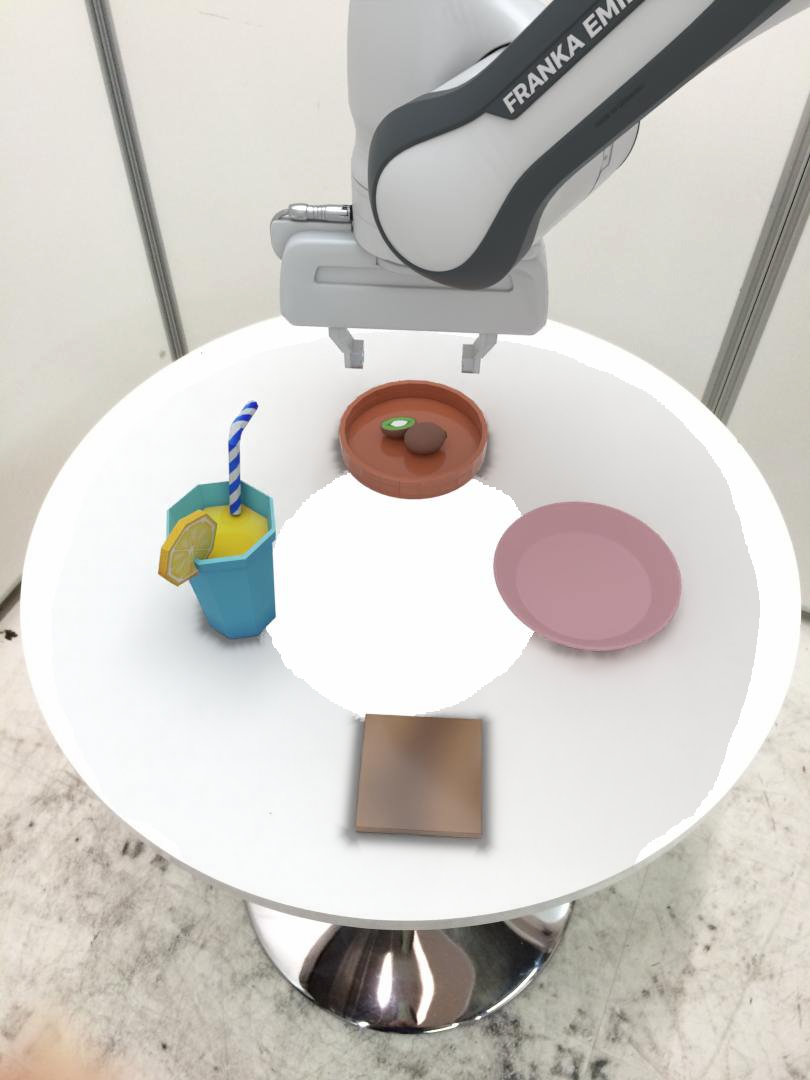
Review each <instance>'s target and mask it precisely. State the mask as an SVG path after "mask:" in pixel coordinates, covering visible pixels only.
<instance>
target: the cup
mask: <svg viewBox="0 0 810 1080" xmlns="http://www.w3.org/2000/svg"><path fill="white" fill-rule="evenodd" d="M258 409H259V404H258V402H257V401H255V400H254V399H251V400H248V401H247V402H246V404H245V405H244V407H243V408H242V409H241V410H240V412H239V413H238V414H237V416H236V417H235V419H234V420H233V421H232V422H231V424H230V427H229V432H228V433H229V434H228V440H227V447H228V449H227V450H228V451H227V452H228V480H226V481H219V482H210V483H199V484H196V485H195V486H194V487H193V488H192V489H190V491H188V492H187V493H186V494H185V495H183V496H182V497H181V498H180V499H179V500H177V501H176V502H175V503H174V504H172V505H171V506H170V507H169V508H168V509H167V510H166V529H165V531H166V532H165V533H166V535H165V537H166V539H165V541H164V542H163V544H162V545H161V547H160V553H159V561H158V568H157V569H158V570H157V575H159V576H160V577H161V578H163V579H164V580H165V581H167V582H168V583H170V584H172V585H173V586H175V587H180V586H181V585H183V584H185V583H186V582H187V581H188V582H189V585H190V587H191V588H192V590H193V593H194V595H195V596H196V599H197V601H198V603H199V605H200V607H201V610H202V612H203V613H204V616H205V618H206V620H207V622H208V624H209V626H210V627H211V628H213V629H214V630H216V631H217V632H219V633H220V634H222V635H223V636H225V637H226V638H228V639H230V640H234V639H243V638H249V637H257V636H259V635H260V634H261V633H262V632H263V631H264V630H265V629H266V628H267V627H268V626H269V625H270V624H271V623H272V622H273V621H274V620H275V619H276V618H277V613H276V593H275V592H276V590H275V570H274V569H275V568H274V550H273V543H274V542H275V541H276V540H277V539H276V538H277V528H276V518H275V506H274V498H273V497H272V496H270V495H268V494H266V493H265V492H263V491H261V490H259V489H258V488H256V487H254V486H252V485H251V484H249V483H248V482H246V481H243V480H242V479H241V439H242V434H243V431H244V430H245V429H246V427H247V425H248V424H249V423H250V421H251V420H252V418H253V417H254V415H255V413H256V412H257V411H258Z"/></svg>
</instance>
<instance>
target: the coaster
mask: <svg viewBox="0 0 810 1080" xmlns="http://www.w3.org/2000/svg"><path fill="white" fill-rule="evenodd" d="M482 730H483V729H482V719H480V718H479V719H478V718H477V719H476V718H459V717H458V718H457V717H439V716H438V717H437V716H418V715H417V716H416V715H402V714H401V715H400V714H399V715H397V714H378V713H365V716H364V725H363V736H362V738H363V739H362V747H361V760H360V768H359V769H360V770H359V778H358V779H359V780H358V781H359V782H358V790H357V791H358V792H357V802H356V811H355V826H354V829H355V832H362V833H378V834H379V833H380V834H397V835H399V834H401V835H415V836H417V835H419V836H434V837H451V838H452V837H453V838H471V839H481V838H482V834H483V819H482V818H483V811H482V810H483V805H482V804H483V803H482V802H483V801H482V800H483V796H482V795H483V794H482V793H483V792H482V790H483V789H482V788H483V787H482V786H483V783H482V782H483V779H482V775H483V773H482V769H483V768H482V767H483V766H482V763H483V762H482V761H483V759H482V758H483V757H482V756H483V755H482V753H483V752H482V751H483V750H482V745H483V743H482V741H483V740H482Z"/></svg>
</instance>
